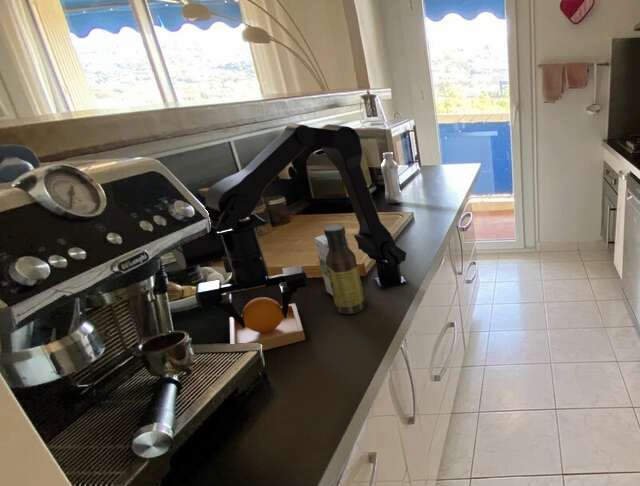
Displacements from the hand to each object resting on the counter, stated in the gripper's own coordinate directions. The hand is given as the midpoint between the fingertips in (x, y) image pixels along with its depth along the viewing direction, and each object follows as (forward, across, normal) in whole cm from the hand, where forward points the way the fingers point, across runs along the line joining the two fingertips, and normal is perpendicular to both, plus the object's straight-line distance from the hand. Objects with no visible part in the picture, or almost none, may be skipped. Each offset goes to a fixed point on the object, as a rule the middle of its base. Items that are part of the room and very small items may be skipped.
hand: (265, 322), depth 92 cm
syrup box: (+3, -17, -12) cm, 21 cm away
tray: (+3, 0, 0) cm, 3 cm away
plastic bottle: (+3, -52, -87) cm, 101 cm away
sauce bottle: (+3, -17, -2) cm, 17 cm away
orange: (-2, 0, 0) cm, 2 cm away
